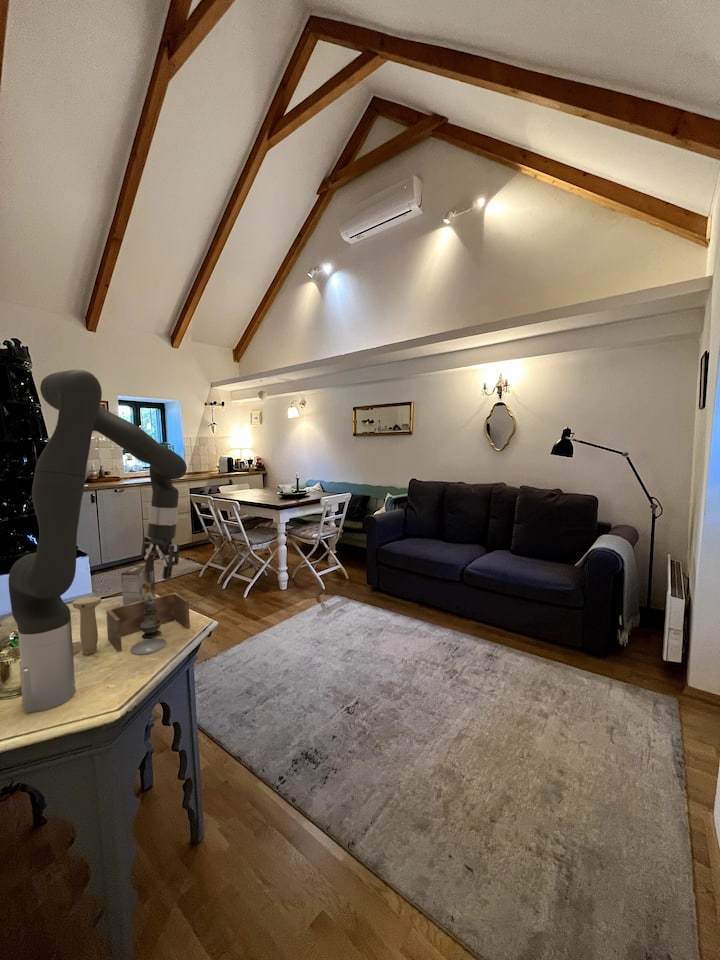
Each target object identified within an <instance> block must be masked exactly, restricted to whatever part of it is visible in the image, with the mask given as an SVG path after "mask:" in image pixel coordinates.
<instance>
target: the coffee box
mask: <svg viewBox="0 0 720 960" xmlns="http://www.w3.org/2000/svg"><path fill="white" fill-rule="evenodd" d="M120 577H121V580H120V581H121V590H122V591H121V592H122V593H121V594H122V606H124V605H128V604H132V603H135V602H139V601H143V600H147V599H149V597H150V599H151V598H155V597H157V596H156V583H155V582H156V581H155V566H154V567H153V571H152V572H145V565H135V566H134V567H132V568H129V569H128V570H125V571H122V573H120Z"/></svg>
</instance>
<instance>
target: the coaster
mask: <svg viewBox="0 0 720 960" xmlns="http://www.w3.org/2000/svg"><path fill="white" fill-rule="evenodd" d="M166 645H167V640H166V639H165V638H162V637H155V638H152V639H143V640H141V641H138V642H136V643H135V644H133V645H132V646H131V648H130V653H131V654H133V655H136V656H144V655H151V654H154V653H157V652H159V651H160V650H163V649H164V648H165V647H166Z"/></svg>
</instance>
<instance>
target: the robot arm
mask: <svg viewBox="0 0 720 960" xmlns="http://www.w3.org/2000/svg"><path fill="white" fill-rule="evenodd" d="M39 389H40V394H41V396H42V398H43V400H44V401H45V402H46V403H47V404H48V405H49V406H50V407H51V408H53V409H55V410H57V411H58V416H57V421H56V426H55V429H54V431H53V433H52V435H51V437H50V439H49V440H48V442H47V443H46V445H45V447H44V448H43V450H42V451H41V453H40V456H39V458H38V460H37V462H36V465H35V469H34V475H33V481H32V486H31V487H32V488H31V498H32V499H31V500H32V504H33V505H32V506H33V508H34V513H35V516H36V519H37V524H38V532H39V534H38V536H39V537H38V542H37V546H36V547H37V549H36V552H33V553H27V554H25V555H23V556H21V557H20V558H18V560H16V561H15V562H14V564H13V565H12V567H11V569H10V571H9V573H8V593H9V600H10V607H11V614H12V617H13V619H14V622H15V623H16V625H17V633H18V634H17V635H18V648H19V649H18V651H19V676H20V686H21V687H20V688H21V699H22V700H21V702H22V705H23V710H24V713H25V714H29V713H33V712H34V713H35V712H41V711H46V710H49V709H53V708H56V707H57V706H60V705H62V704H63V703H66V702H67V701H68V700H70V699H71V698H72V697H73V696H75V693H76V678H75V677H76V676H75V663H74V646H73V645H74V644H73V632H72V631H73V630H72V617H71V615H72V613H71V608H70V607H69V606H68V605H67V604H66V603H65V601H63V599H62V597H61V596H62V595H65V593H66V592H67V591H68V590H69V589H70V588H71V586H72V584H73V582H74V580H75V577H76V569H77V542H78V541H77V539H78V536H77V535H78V528H79V522H80V514H81V509H82V508H81V506H82V501H83V496H84V490H85V484H86V483H85V482H86V477H87V467H88V461H89V456H90V455H89V454H90V449H91V442H92V435H93V431H95V432H98V433H99V434H100V435H103V436H104V437H105V438H107V439H109V440H110V441H111V442H113V443H115V444H116V445H117V446H119V447H120V448H121V449H123V450H124V451H125V452H127V453H128V454H129V455H130V456H132V457H134V458H135V459H136V460H138V461H140V462H142V463H144V464H147V465H149V477H150V485H151V490H152V494H151V504H150V510H149V513H148V514H149V515H148V526H147V536H143V537H142V545H141V552H140V555H141V556H140V557H144V560H145V565H144V566H145V572H152V571H153V567H154V568H155V557H156V556H158V557H159V558H160V560H161V561H162V562H163V565H164V566H163V571H162V579H163V580H168V579H171V578H172V574H173V566H178V565H179V557H180V544H173V539H174V538H176V536H177V527H178V526H177V525H178V515H179V514H178V506H179V505H178V504H179V489H178V488H177V487H175V486H174V484H173V482H172V481H173V480H179V479H181V478H183V477H184V476H185V475H186V473H187V469H188V468H187V467H188V466H187V464H186V461H185V459H184V458H182V457H181V455H179V454H177V453H176V452H174V451H173V450H171V449H170V448H168V447H166V446H164V445H162V444H161V443H159V442H158V441H157V440H156V439H155V438H154V437H152V436H151V435H149V434H148V433H147V432H146V431H145V430H143V429H142V428H140V427H139V426H138V425H136V424H134V423H132V422H131V421H129V420H126V419H125V418H123V417H121V416H118V415H117V414H114V413H112V412H111V411H110V410H108V409H106V408H105V407H103V406H101V401H102V398H103V397H102V396H103V393H102V392H103V389H102V386H101V383H100V382H99V380H98V378H96V376H95V375H94V374H93V373H92V372H90V371H88V370H83V369H69V370H63V371H58V372H57V371H56V372H54V373H50V374H48V375H46V376H44V378H43V379H42V380H41V383H40V388H39Z"/></svg>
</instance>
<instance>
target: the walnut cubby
mask: <svg viewBox="0 0 720 960" xmlns="http://www.w3.org/2000/svg"><path fill="white" fill-rule="evenodd" d="M151 599H153V600H155V609H156V610H157V611H156V618H157V619H158V620H161V621H162V623H161V625H163V624H167V622H168V623H171V622H174V621H175V620H176V621H175V622H177V623H178V624H179V625H181V626H182V627H183V628H184V629H186V630H188V629H190V628H191V626H190V624H191V622H190V621H191V620H190V603H189V600H188V599H187V598H185V597H184V596H182V595H181V594H179V593H178V592H176V591H175V592H172V593H168V594H163V595H160V596H156V597H155V598H151ZM147 600H148V599H147ZM147 600H143V601H139V602H135V603H132V604H128V605H124V606H123V605H121V606H117V607H112V608H109V609H106V610H105V611H106V629H107V631H106V632H107V640H108V641H109V643H110V644H111V645H112V646H113V647H114V649H115V650H116V651H117V652H121V651H123V650H122V637H125V636H128V635H130V634H134V632H135V633H137V632H140V631H141V632H142V629H141V627H140V624H142V623H143V622H144V621H145V614H144V611H145V601H147ZM170 621H171V622H170Z"/></svg>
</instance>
